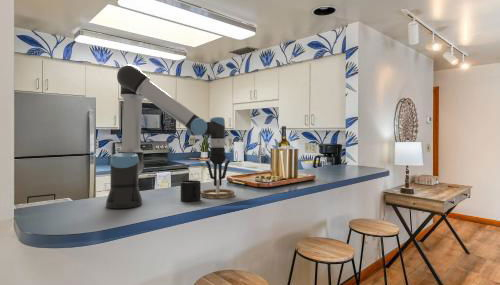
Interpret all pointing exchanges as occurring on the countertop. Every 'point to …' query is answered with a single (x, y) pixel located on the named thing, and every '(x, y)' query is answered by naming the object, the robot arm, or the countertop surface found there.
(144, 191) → the countertop surface
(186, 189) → the mug
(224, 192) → the tray
